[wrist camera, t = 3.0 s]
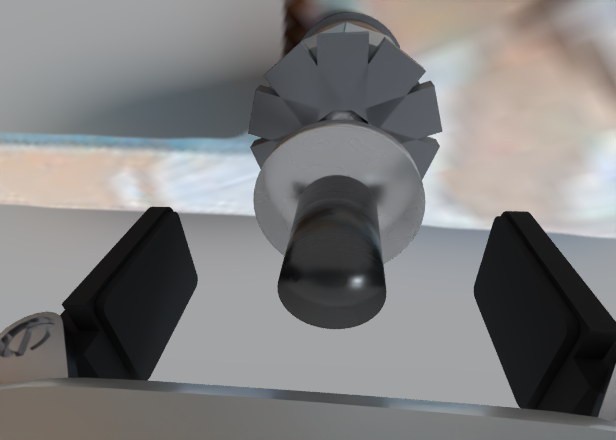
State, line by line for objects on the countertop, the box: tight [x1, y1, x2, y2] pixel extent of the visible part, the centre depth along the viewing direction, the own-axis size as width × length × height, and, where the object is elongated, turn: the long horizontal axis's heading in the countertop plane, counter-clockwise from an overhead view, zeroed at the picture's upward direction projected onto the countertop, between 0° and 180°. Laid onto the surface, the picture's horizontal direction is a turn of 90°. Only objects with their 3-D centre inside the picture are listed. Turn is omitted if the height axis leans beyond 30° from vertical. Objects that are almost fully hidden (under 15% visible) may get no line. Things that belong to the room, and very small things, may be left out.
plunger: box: [254, 110, 425, 329], centre depth 14 cm, size 6×6×13 cm
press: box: [248, 12, 442, 181], centre depth 25 cm, size 10×12×15 cm
